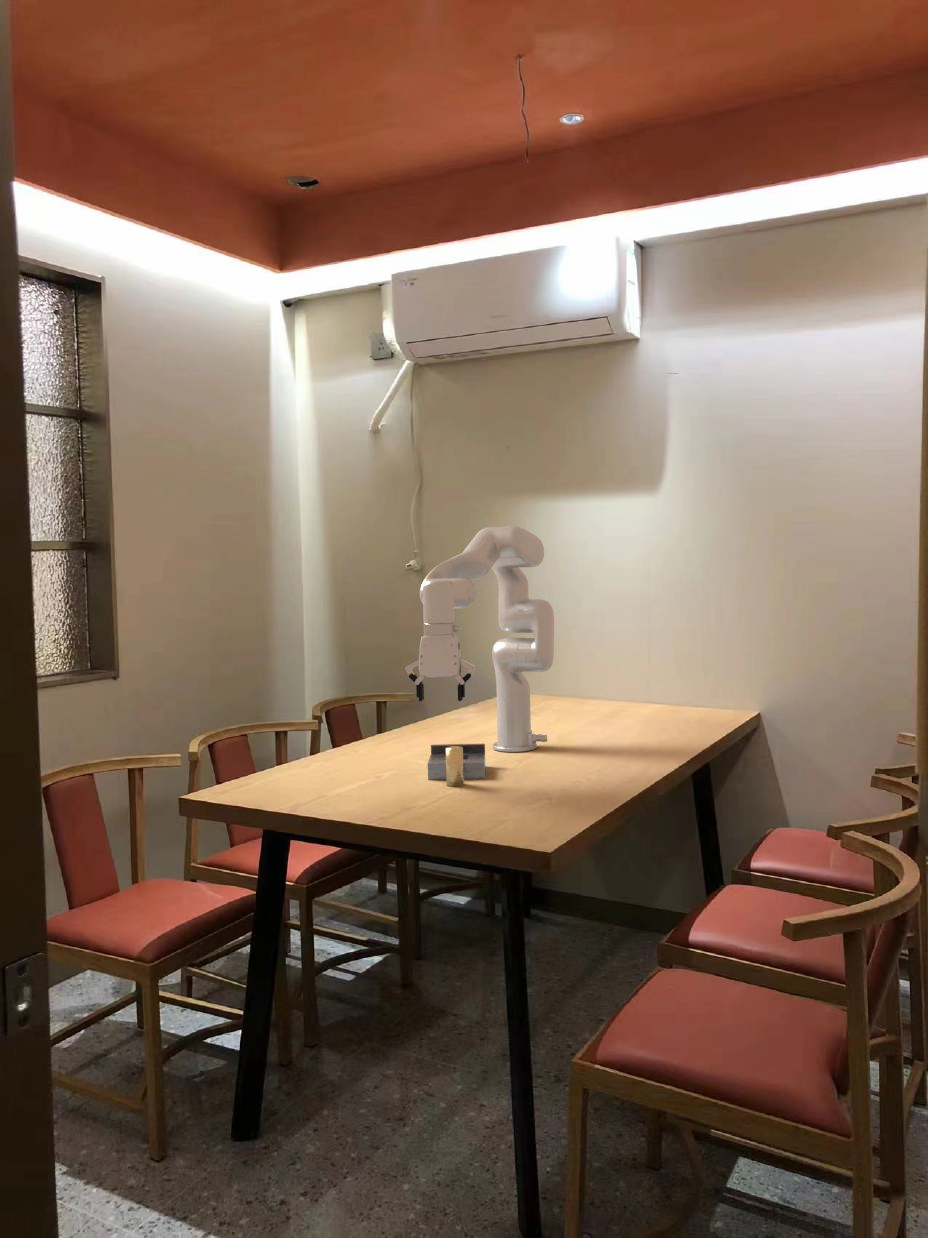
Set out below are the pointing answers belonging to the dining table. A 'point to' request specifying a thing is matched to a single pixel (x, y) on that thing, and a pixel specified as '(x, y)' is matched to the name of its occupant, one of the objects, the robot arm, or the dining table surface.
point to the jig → (471, 761)
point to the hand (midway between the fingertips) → (440, 700)
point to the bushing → (454, 766)
